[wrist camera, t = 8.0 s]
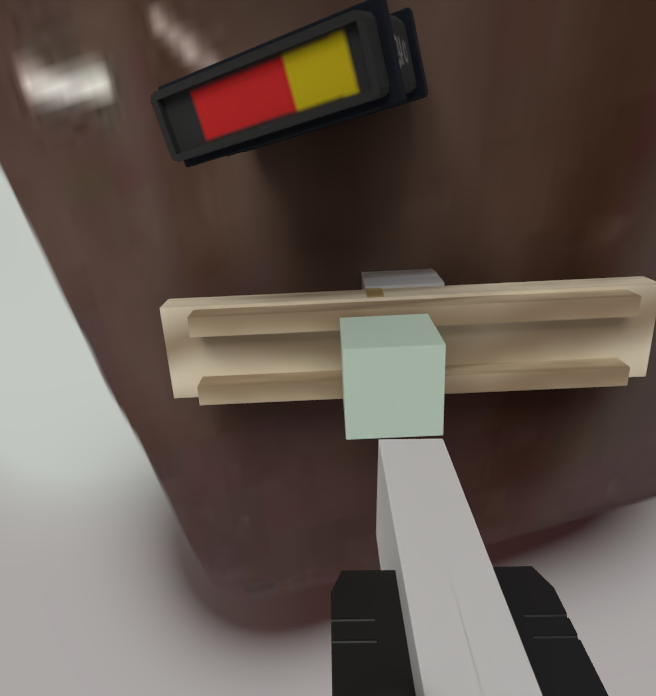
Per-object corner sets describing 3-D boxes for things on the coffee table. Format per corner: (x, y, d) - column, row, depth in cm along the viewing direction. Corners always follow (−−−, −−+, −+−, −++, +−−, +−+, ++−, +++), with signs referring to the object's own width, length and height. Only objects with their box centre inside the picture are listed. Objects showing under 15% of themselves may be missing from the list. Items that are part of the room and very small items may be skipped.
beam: (182, 280, 39) (151, 312, 32) (612, 259, 39) (677, 287, 31) (194, 364, 41) (168, 412, 34) (601, 345, 41) (659, 389, 34)
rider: (338, 307, 33) (342, 349, 27) (421, 303, 33) (445, 344, 27) (342, 383, 35) (346, 439, 29) (420, 379, 35) (443, 435, 29)
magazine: (471, 83, 33) (392, 103, 21) (286, 140, 39) (144, 180, 27) (459, 13, 32) (368, -8, 20) (270, 83, 38) (113, 100, 26)
